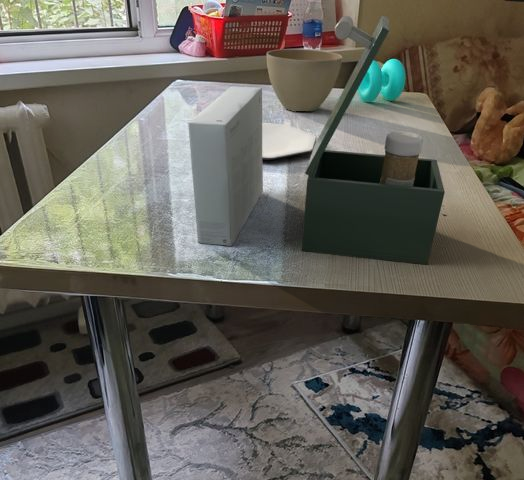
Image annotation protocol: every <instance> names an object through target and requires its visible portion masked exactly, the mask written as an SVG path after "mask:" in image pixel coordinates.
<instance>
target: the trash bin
mask: <svg viewBox="0 0 524 480" xmlns="http://www.w3.org/2000/svg"><path fill="white" fill-rule="evenodd" d="M384 158H385V154H376V153H375V154H374V153H366V152H355V151H354V152H353V151H344V150H343V151H341V150H331V149H330V150H329V149H325V151H324V153H323V154H322V156H321V158H320V160H319V162H318V164H317V166H316V167H315V169H314V171H313V173H312V175H311V176H308V175H307V179H306V189H305V202H304V215H303V225H302V238H301V239H302V241H301V252H308V253H317V254H326V255H334V256H335V255H337V256H345V257H353V256H356V257H357V258H362V257H363V258H364V259H371V258H372V259H373V260H382V261H391V262H399V263H408V264H417V265H426V266H427V265H429V259H430V256H431V252H432V248H433V243H434V239H435V235H436V231H437V226H438V222H439V218H440V215H441V211H442V207H443V202H444V198H445V194H446V192H445V187H444V184H443V180H442V175H441V172H440V169H439V164H438V159H435V158H423V157H421V158H420V157H418V161H417V166H416V171H415V179H414V184H413V187H411V186H400V185H389V184H380V179H381V175H382V169H383V164H384ZM356 257H355V258H356Z"/></svg>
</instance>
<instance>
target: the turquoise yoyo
mask: <svg viewBox="0 0 524 480" xmlns="http://www.w3.org/2000/svg"><path fill="white" fill-rule="evenodd" d="M405 85H406V69H405V67H404V65H403V63H402V62H401V61H400V60H399V59H397V58H391V59H389V60H387V61H386V62H385V63H384V64H383V65H382V67H381V66H380V64H379V63H378V62H377V61H376V60H375V59H374V60H373V62H372V64H371V65H370V67H369V69H368V71H367V73H366V75H365V77H364V78H363V80H362V82H361V84H360V86H359V88H358V90H357V91H356V93H357V95H358V97H359V98H360V100H361V101H363V102H364V103H371V102H373V101H375V100H376V99H377V98H378V97H379V95H381V96H382V98H383V99H384V100H385V101H390V102H393V101H395V100H397V99H398V98H399V97H400V96H401V95H402V93H403V91H404V88H405Z"/></svg>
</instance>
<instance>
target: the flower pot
mask: <svg viewBox="0 0 524 480" xmlns="http://www.w3.org/2000/svg"><path fill="white" fill-rule="evenodd" d="M342 62H343V56H342V54H339V53H336V52H331V51H324V50H317V49H303V48H302V49H301V48H284V49H273V50H269V51H267V52H266V67H267V72H268V77H269V81H270V85H271V87H272V89H273V92H274V94H275V96H276V98H277V99H278V101H279V102H280V105H281V106H282V107H283V108H284V109H285V110H287V109H288V110H287V111H290V110H291V111H290V112H296V111H311V112H314V111H313V110H315V111H317V110H318V109H319V108H320V107H321V106H322V105H323V103H324V102H325V101H326V99H327V98H328V97H329V95H330V94H331V92H332V90H333V88H334V87H335V85H336V82H337V79H338V77H339V74H340V70H341V67H342Z"/></svg>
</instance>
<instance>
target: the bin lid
mask: <svg viewBox="0 0 524 480" xmlns="http://www.w3.org/2000/svg"><path fill="white" fill-rule="evenodd" d="M389 23H390V21H389V18H388V17H386V16H385V15H381V18H380V19H379V21H378V23H377V25H376V27H375V29H374V31H373V33H372V35H370V34H369V33H367V32H365V31H364V30H362V29H361V28H359V27H357V26H356V25H354V24H355V23H354V19H353V18H352V17H350V16H349V15H344V16H342V17H341V18H340V19H339V20H338V22H337V24H336V25H335V27H334V34H335V37H336V38H337V39H338V40H341V41H345V40H347V39H350V40H352V41H353V42H355V43H356V44H358V45H360V46H362V47H363V48H364V49H363V52H362V54H361V56H360V58H359V60H358V61H357V64H356V65H355V67H354V68H353V71H352V73H351V75H350V77H349V79H348V80H347V82H346V85H345V86H344V88H343V89H342V92H341V94H340V96H339V98H338V100H337V102H336V103H335V105H334V107H333V109H332V111H331V113H330V115H329V117H328V119H327V120H326V123H325V124H324V126H323V128H322V130H321V132H320V134H319V136H318V138H317V139H316V141H315V144H314V148H313V151H311V154H310V157H309V160H308V163H307V166H306V169H305V171H304V174H305V175H307V177H308V176H311V175H312V173H313V171H314V169H315V167H316V166H317V164H318V162H319V160H320V158H321V156H322V154H323V153H324V151H325V150H327V147H328V145H329V143H330V142H331V140H332V138H333V136H334V134H335V133H336V130H337V128H338V127H339V125H340V123H341V121H342V119H343V117H344V116H345V113H346V112H347V110H348V109H349V106H350V104H351V103H352V101H353V99H354V98H355V96H356V93H357V90H358V88H359V86H360V84H361V82H362V80H363V78H364V77H365V75H366V73H367V71H368V69H369V67H370V65H371V64H372V62H373V60H374V61H375V58H376V56H377V54H378V52H379V51H380V49H381V47H382V45H383V43H384V41H385V39H386V38H387V36H388V34H389V32H390V24H389Z"/></svg>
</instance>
